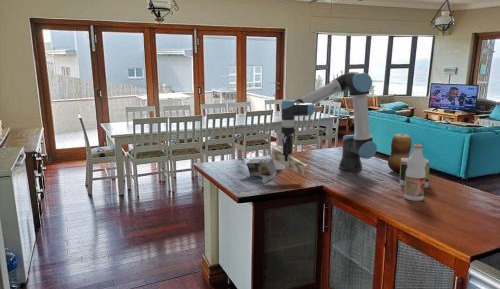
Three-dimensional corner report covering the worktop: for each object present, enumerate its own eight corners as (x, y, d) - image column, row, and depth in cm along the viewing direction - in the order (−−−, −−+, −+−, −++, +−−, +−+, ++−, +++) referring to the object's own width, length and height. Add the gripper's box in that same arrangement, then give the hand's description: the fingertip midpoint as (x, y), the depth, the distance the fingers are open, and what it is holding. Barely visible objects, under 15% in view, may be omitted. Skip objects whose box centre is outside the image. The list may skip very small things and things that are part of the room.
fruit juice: (401, 194, 202) (405, 143, 197) (420, 195, 201) (424, 143, 195) (406, 200, 193) (410, 146, 188) (425, 201, 191) (430, 147, 186)
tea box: (426, 183, 223) (428, 158, 220) (428, 188, 213) (430, 162, 210) (398, 181, 227) (400, 157, 225) (399, 185, 218) (401, 160, 215)
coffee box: (273, 157, 232) (250, 159, 241) (268, 162, 227) (246, 163, 236) (276, 171, 235) (254, 171, 243) (272, 176, 230) (249, 176, 238)
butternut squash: (403, 175, 239) (406, 136, 234) (383, 171, 249) (386, 134, 244) (413, 171, 248) (416, 134, 243) (394, 168, 258) (396, 131, 253)
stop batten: (276, 174, 242) (276, 171, 241) (265, 183, 224) (265, 179, 223) (273, 174, 242) (273, 171, 242) (262, 182, 224) (262, 179, 224)
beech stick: (303, 173, 226) (307, 165, 224) (301, 174, 223) (306, 166, 221) (271, 155, 232) (275, 147, 230) (269, 156, 229) (273, 148, 227)
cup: (285, 170, 251) (286, 148, 249) (270, 170, 253) (270, 148, 251) (287, 166, 262) (287, 145, 259) (272, 166, 264) (272, 145, 261)
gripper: (286, 124, 231) (285, 161, 236) (277, 128, 217) (277, 167, 221) (297, 125, 228) (297, 162, 233) (290, 128, 214) (289, 169, 218)
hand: (287, 165), depth 227 cm, fingers closed on beech stick, 3 cm apart
